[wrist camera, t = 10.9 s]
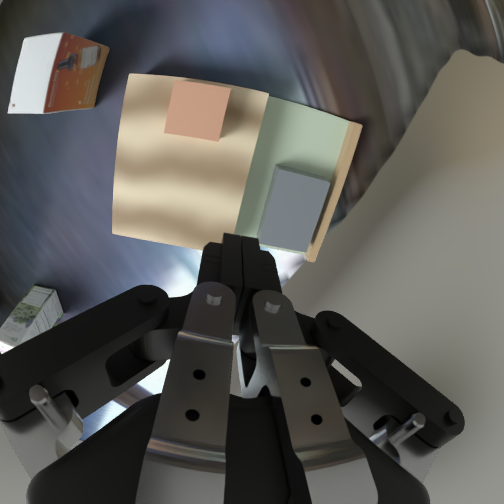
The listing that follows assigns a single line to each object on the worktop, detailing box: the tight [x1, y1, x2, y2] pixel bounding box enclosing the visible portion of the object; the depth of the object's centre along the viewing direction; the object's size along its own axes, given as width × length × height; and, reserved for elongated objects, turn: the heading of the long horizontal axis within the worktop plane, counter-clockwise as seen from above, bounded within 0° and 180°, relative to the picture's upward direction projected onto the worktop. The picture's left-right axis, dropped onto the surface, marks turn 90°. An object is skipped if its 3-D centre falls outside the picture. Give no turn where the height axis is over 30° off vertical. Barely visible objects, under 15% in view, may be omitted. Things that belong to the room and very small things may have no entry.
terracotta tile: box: [164, 80, 232, 142], centre depth 22 cm, size 5×5×2 cm
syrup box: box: [0, 285, 64, 353], centre depth 32 cm, size 6×6×14 cm
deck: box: [112, 74, 269, 250], centre depth 28 cm, size 18×14×4 cm
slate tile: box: [257, 164, 331, 252], centre depth 32 cm, size 9×6×2 cm, turn 167°
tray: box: [234, 96, 363, 262], centre depth 31 cm, size 18×11×2 cm, turn 166°
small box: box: [8, 32, 110, 114], centre depth 18 cm, size 8×6×10 cm
